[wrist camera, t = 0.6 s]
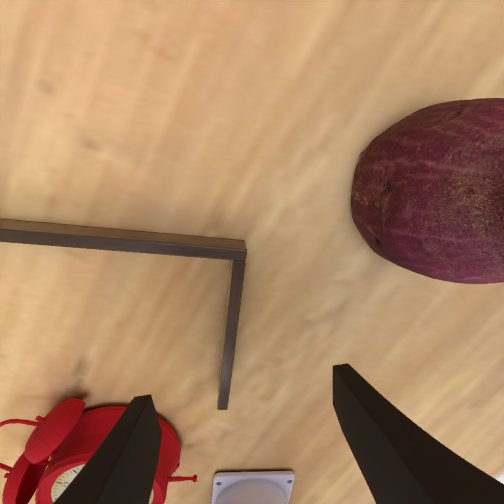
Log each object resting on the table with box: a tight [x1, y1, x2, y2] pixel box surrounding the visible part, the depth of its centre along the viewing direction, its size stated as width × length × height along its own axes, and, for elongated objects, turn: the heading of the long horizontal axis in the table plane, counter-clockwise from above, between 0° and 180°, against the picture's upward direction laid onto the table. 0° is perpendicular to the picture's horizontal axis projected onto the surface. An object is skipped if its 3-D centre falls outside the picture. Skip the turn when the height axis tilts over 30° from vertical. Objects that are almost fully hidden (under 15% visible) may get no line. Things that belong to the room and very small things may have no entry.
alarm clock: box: [0, 398, 197, 504], centre depth 22 cm, size 10×6×15 cm
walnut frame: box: [0, 219, 247, 410], centre depth 19 cm, size 13×21×2 cm, turn 83°
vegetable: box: [351, 98, 504, 284], centre depth 13 cm, size 10×10×15 cm
